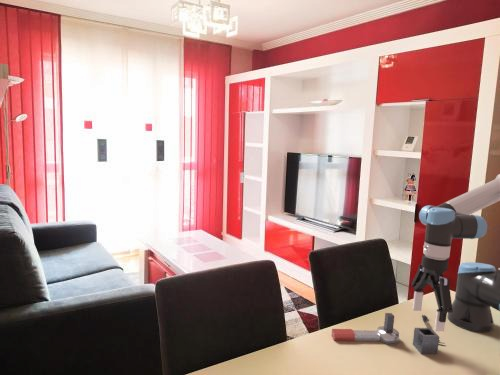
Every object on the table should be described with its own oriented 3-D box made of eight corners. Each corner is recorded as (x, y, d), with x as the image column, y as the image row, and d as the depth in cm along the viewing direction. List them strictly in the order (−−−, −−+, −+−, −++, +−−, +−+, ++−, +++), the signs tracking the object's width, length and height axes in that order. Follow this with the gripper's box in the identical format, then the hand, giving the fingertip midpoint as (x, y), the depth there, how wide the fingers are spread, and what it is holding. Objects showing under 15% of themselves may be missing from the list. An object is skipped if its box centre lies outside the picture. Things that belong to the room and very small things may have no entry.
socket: (428, 344, 125) (430, 328, 124) (437, 354, 120) (439, 336, 119) (412, 344, 125) (414, 327, 124) (420, 353, 120) (423, 336, 119)
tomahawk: (452, 350, 124) (453, 347, 124) (431, 345, 126) (432, 342, 126) (438, 320, 144) (438, 318, 144) (419, 316, 146) (420, 313, 146)
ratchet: (392, 333, 131) (395, 310, 130) (401, 344, 124) (404, 319, 123) (329, 332, 130) (331, 308, 129) (335, 343, 123) (337, 318, 122)
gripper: (405, 244, 130) (398, 302, 133) (447, 269, 106) (437, 340, 108) (426, 245, 131) (418, 303, 134) (472, 270, 106) (462, 340, 109)
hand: (427, 319), depth 121 cm, fingers open, 13 cm apart
